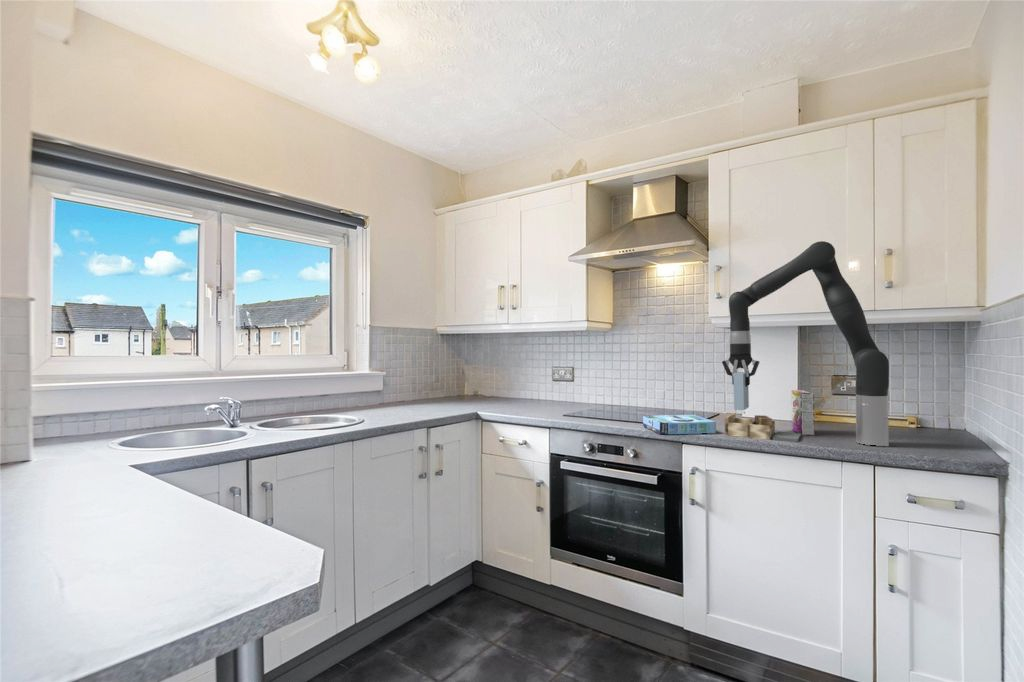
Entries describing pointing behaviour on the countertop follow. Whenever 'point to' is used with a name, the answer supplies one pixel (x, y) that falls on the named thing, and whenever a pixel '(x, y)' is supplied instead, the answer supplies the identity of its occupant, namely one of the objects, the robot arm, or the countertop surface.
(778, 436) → the mat
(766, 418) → the offcut upper
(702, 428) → the gum box
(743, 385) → the tall pale blue pillar
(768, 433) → the rack
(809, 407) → the candy bar box
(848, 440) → the countertop surface
